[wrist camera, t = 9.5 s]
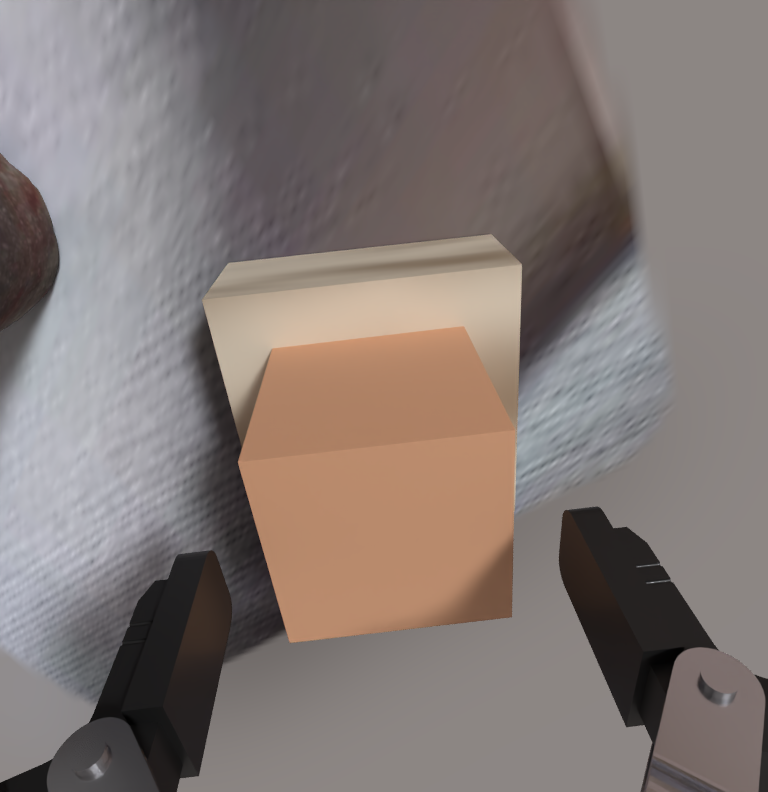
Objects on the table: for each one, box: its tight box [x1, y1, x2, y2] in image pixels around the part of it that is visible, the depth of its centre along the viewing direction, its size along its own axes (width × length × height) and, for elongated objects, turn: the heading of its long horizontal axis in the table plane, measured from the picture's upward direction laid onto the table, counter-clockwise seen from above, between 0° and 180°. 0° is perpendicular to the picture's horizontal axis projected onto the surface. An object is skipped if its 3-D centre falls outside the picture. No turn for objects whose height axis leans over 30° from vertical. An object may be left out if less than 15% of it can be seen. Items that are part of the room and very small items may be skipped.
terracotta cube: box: [238, 326, 515, 643], centre depth 16 cm, size 6×6×6 cm
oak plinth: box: [202, 234, 522, 511], centre depth 20 cm, size 10×10×4 cm
